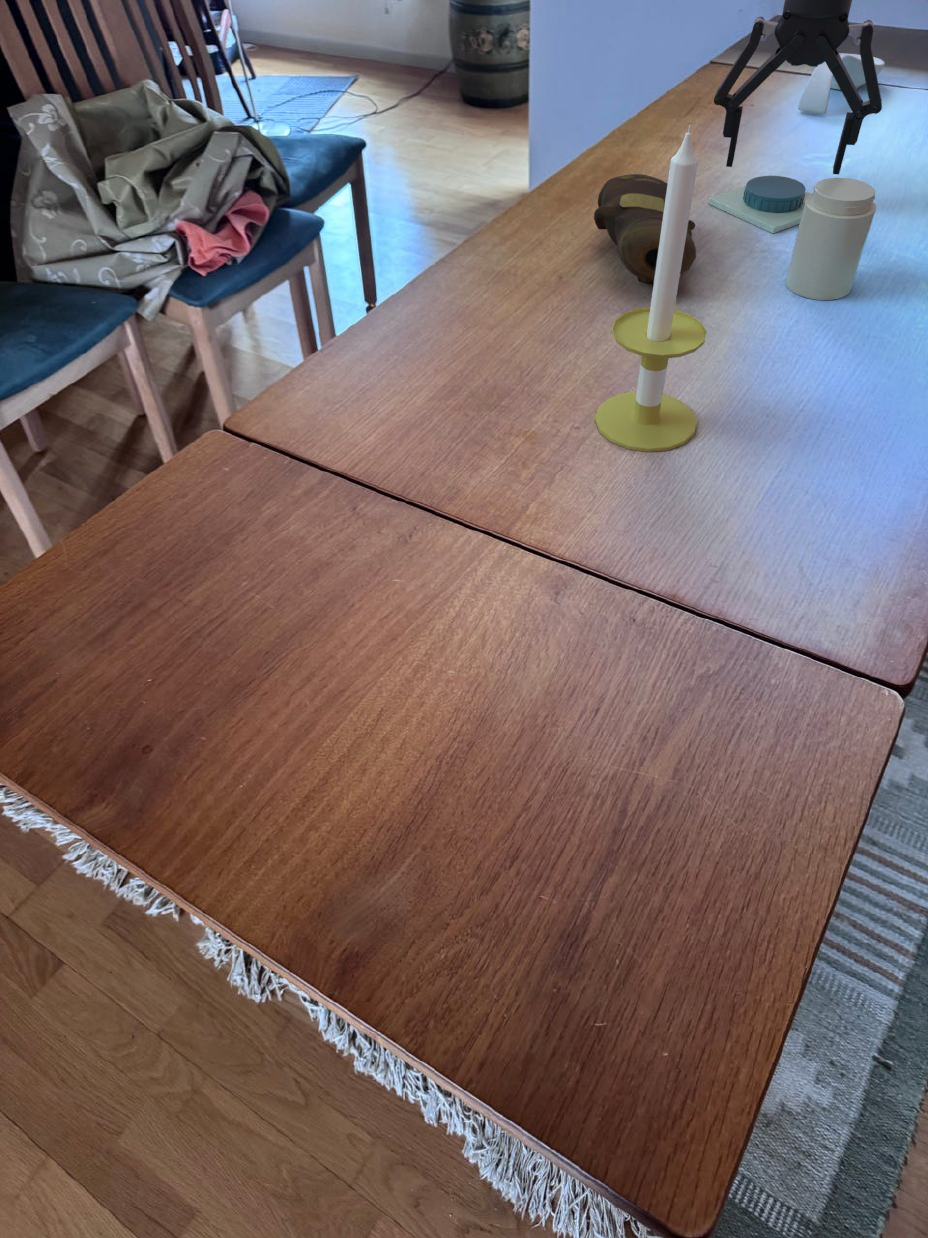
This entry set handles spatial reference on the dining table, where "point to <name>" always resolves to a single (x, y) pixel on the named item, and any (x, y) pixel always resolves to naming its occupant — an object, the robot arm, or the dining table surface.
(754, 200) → the lid
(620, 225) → the pottery vessel
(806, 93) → the spoon rest
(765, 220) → the tile
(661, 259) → the candle
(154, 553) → the dining table surface
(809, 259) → the jar
